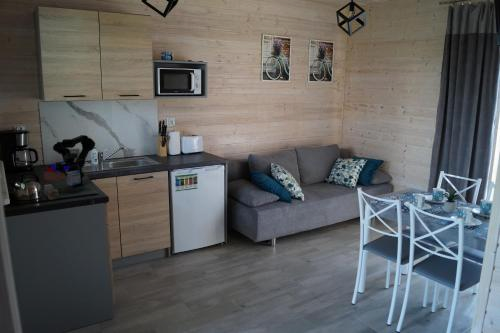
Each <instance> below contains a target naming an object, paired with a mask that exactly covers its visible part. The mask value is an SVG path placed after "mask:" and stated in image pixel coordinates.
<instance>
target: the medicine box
mask: <svg viewBox="0 0 500 333" xmlns="http://www.w3.org/2000/svg"><path fill="white" fill-rule="evenodd" d="M66 174H67V176H66V178H65V179H66V185H67V186H71V187H73V186H72V185H76V184H79V183H81V179H80V171H78V170H75V171H71V172H67V173H66Z"/></svg>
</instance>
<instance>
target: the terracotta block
mask: <svg viewBox="0 0 500 333" xmlns="http://www.w3.org/2000/svg"><path fill="white" fill-rule="evenodd" d="M48 186H53V185H52V184H51V183H49V184H44V188H45V187H48ZM44 194H45V195H46V191H45V190H44Z"/></svg>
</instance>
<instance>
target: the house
mask: <svg viewBox="0 0 500 333" xmlns="http://www.w3.org/2000/svg"><path fill="white" fill-rule="evenodd" d="M61 162H62V164H63V163H64V161H61ZM54 166H55V163H54V164H51V165H48V166H47V167H46V168H45V169H44V170H43V171H42V172H43V175H44V177H43V178H44V181H52V182H53V181H54V182H58V181H61V180H64V179H66V176H65V175H64V174H63V173H62V172H60V171H58V170H55V168H54ZM69 167H70V166H64V169H65V171H66V173H67V172H68V169H69Z"/></svg>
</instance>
